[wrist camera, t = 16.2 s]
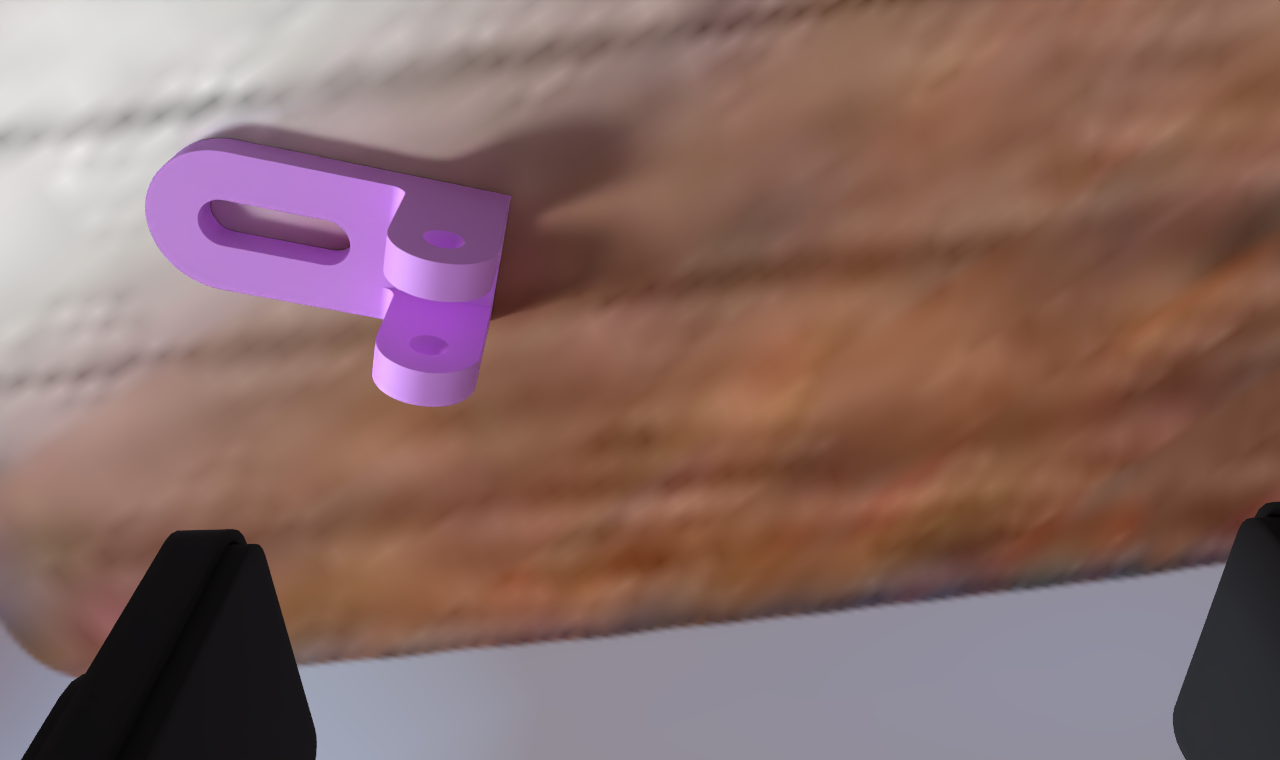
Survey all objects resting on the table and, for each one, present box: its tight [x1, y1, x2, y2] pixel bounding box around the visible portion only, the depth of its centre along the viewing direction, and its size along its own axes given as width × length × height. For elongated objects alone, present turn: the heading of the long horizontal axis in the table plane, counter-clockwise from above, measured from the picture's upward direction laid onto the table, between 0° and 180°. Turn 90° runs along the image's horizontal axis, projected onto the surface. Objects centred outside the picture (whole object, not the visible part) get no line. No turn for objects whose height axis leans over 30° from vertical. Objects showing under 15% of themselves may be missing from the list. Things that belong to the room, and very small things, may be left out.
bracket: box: [145, 138, 511, 407], centre depth 36 cm, size 13×6×7 cm, turn 77°
